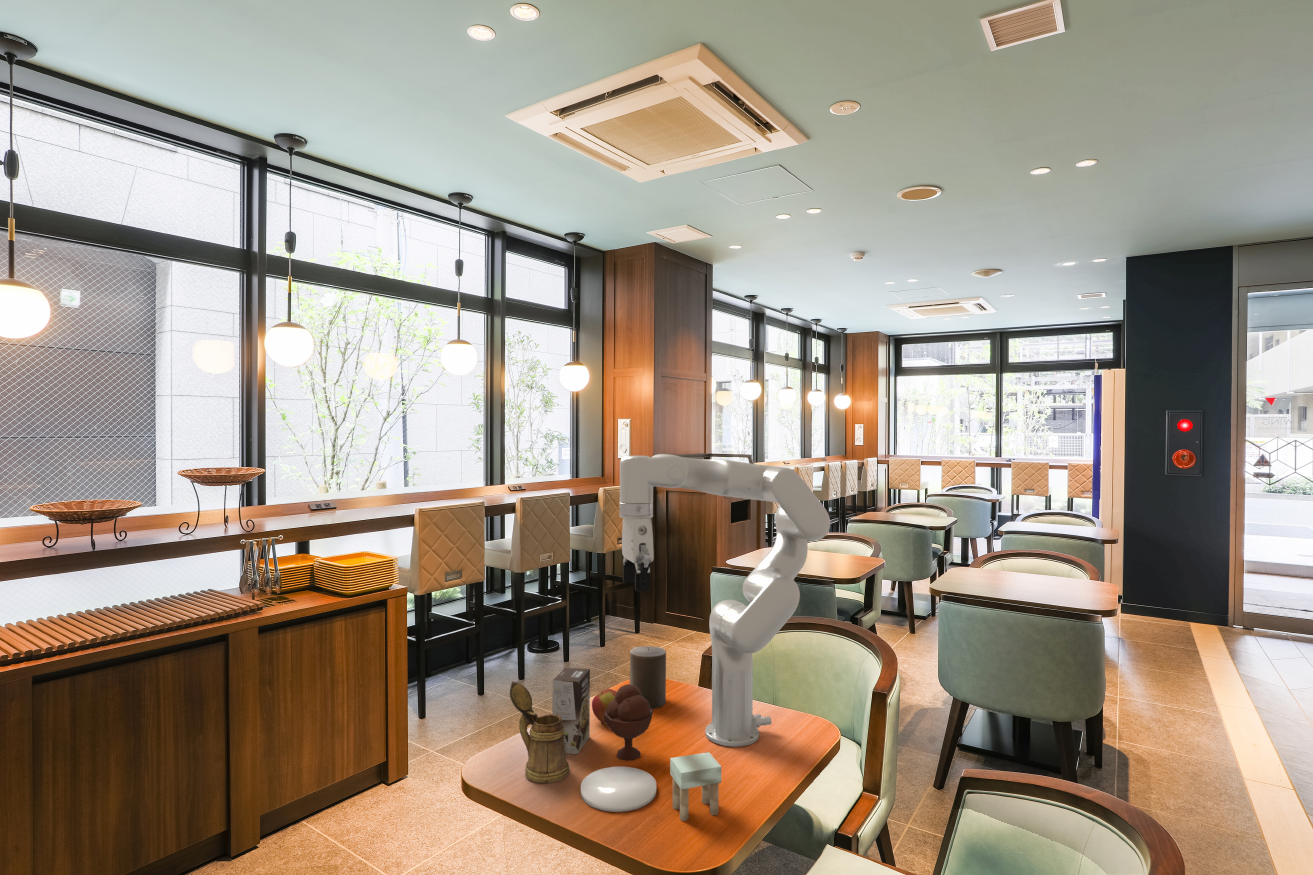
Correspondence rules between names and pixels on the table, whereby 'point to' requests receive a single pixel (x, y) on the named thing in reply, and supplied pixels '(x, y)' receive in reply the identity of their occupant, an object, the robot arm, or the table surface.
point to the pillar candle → (649, 673)
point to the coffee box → (573, 706)
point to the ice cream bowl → (628, 718)
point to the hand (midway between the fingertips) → (635, 586)
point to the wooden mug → (540, 739)
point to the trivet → (618, 789)
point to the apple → (602, 703)
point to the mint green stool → (695, 781)
